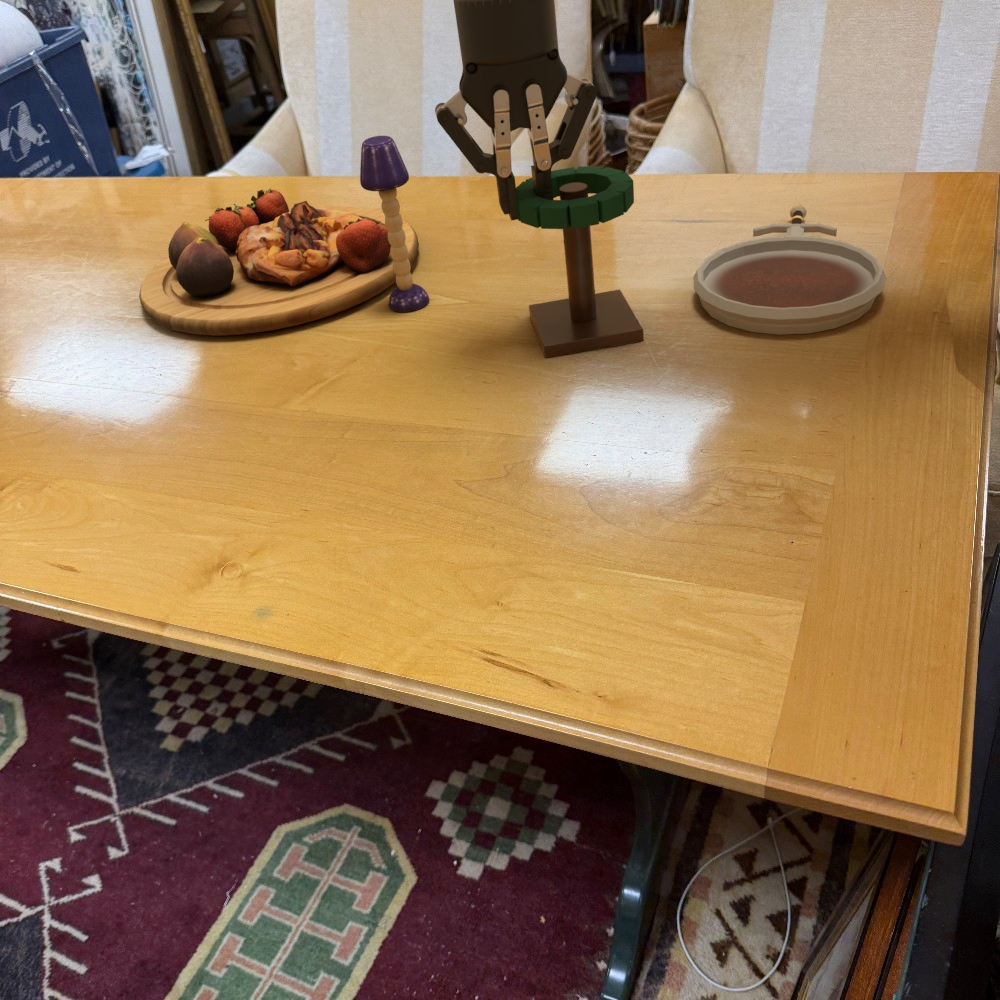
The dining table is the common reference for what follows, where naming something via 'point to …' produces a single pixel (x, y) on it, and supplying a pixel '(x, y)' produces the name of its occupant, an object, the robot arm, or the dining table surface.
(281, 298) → the wooden plate
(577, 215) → the ring
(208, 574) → the dining table surface
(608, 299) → the post
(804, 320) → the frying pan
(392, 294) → the toy lamp
